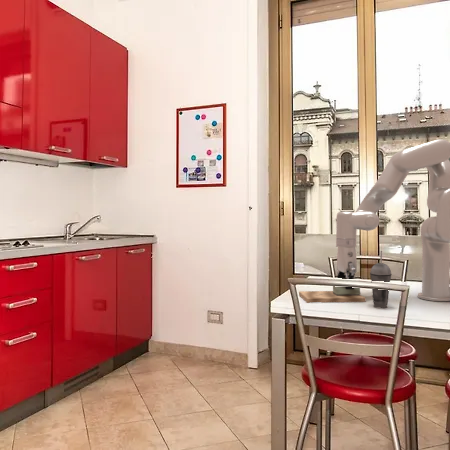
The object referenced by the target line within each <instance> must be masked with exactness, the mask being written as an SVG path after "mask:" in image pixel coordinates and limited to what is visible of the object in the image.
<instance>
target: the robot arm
mask: <svg viewBox="0 0 450 450" xmlns="http://www.w3.org/2000/svg"><path fill="white" fill-rule="evenodd" d="M425 168H426V170H427V171H428V174H429V180H428V181H429V183H428V189H427V190H428V191H427V198H426V205H427V208H428V210H429V211H431V212H433V213H436V216H430V217H427V218H425V220H424V221H423V222H422V224H421V225H420V237H421V246H422V247H421V248H422V249H421V252H422V253H421V254H422V262H421V263H422V264H421V269H422V270H421V292H418V293H417V298H419V299H421V300H424V301H430V302H431V301H432V302H450V141H448V139H447V140H446V139H444V138H443V139H442V138H439V139H435V140H432V141H431V140H430V141H429V142H425V143H422V144H419V145H416V146H412V147H409V148H404V149H402V150H400V151H397V152H395V153H394V154H393V155H392V156H391V157H390V159H389V160H388V162H387V164H386V165H385V168H384V169H383V171H382V172H381V174H380V175H379V177H378V179H377V180H376V182H375V183H374V185H373V186H372V187H371V189H370V190H369V192H368V193H367V194H366V195H365V196H364V198H363V199H362V201H361V202H360V204H359V206H358V207H357V208H356V210H355V211H345V210H344V211H338V212H337V214H336V228H335V229H336V232H335V233H336V234H335V235H336V237H335V243H336V244H335V247H337V254H336V255H337V257H336V269H337V277H336V278H347V279H355V278H356V277H355V275H356V273H357V267H358V266H357V265H358V264H357V249H356V248H357V231H358V230H361V231H367V232H368V231H369V232H370V231H374V230H375V229H376V228H377V227H378V226H379V224H380V217H379V215H378V214H377V213H378V211H379V210H380V209H381V207H382V206H383V205H384V204H386V203H387V202H388V201H389V200H391V199H392V198H394V197H395V196H396V194H397V193H398V191H399V189H400V188H401V186H402V184H403V183H404V181H406V178H407V176H408V175H409V173H410V172H413V171H416V170H421V169H425ZM345 289H354V288H352V287H345Z"/></svg>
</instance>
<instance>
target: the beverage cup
mask: <svg viewBox="0 0 450 450" xmlns="http://www.w3.org/2000/svg"><path fill="white" fill-rule="evenodd" d="M379 255H380V257H379V258H380V259H379V260H380V262H376V263H375V264H374V265H373V266H372V267H371V268H370V272H369V275H370V280H371V282H372V281H384V282H390V283H391V280H392V271H391V270H392V269H391V268H390V266H389V265H387V264H386V263H384V262H383V251H382V250H380V254H379ZM371 291H372V303H373V307H374V308H376V309H377V308H378V309H387V308H388V302H389V294H390V290H389V291H388V290H378V289H372V288H371Z"/></svg>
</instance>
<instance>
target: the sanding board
mask: <svg viewBox="0 0 450 450" xmlns="http://www.w3.org/2000/svg"><path fill="white" fill-rule="evenodd" d="M298 296H299V297H301V299H303V300H304V301H305V303H307V304H311V303H310V302H321V303H363V302H364V303H366V297H365V296H364V295H361V294H360V295H354V296H337V295H335V294H333V290H319V291H318V290H315V291H309V290H308V291H307V290H306V291H305V290H304V291H301V290H299V291H298Z"/></svg>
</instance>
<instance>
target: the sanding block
mask: <svg viewBox="0 0 450 450" xmlns="http://www.w3.org/2000/svg"><path fill="white" fill-rule="evenodd" d="M342 279H347V278H342ZM355 279H358V278H357V277H355ZM332 291H333V294H335V295H337V296H354V295H361V287H360V288H354V289H345V287H335V286H333V285H332Z"/></svg>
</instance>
